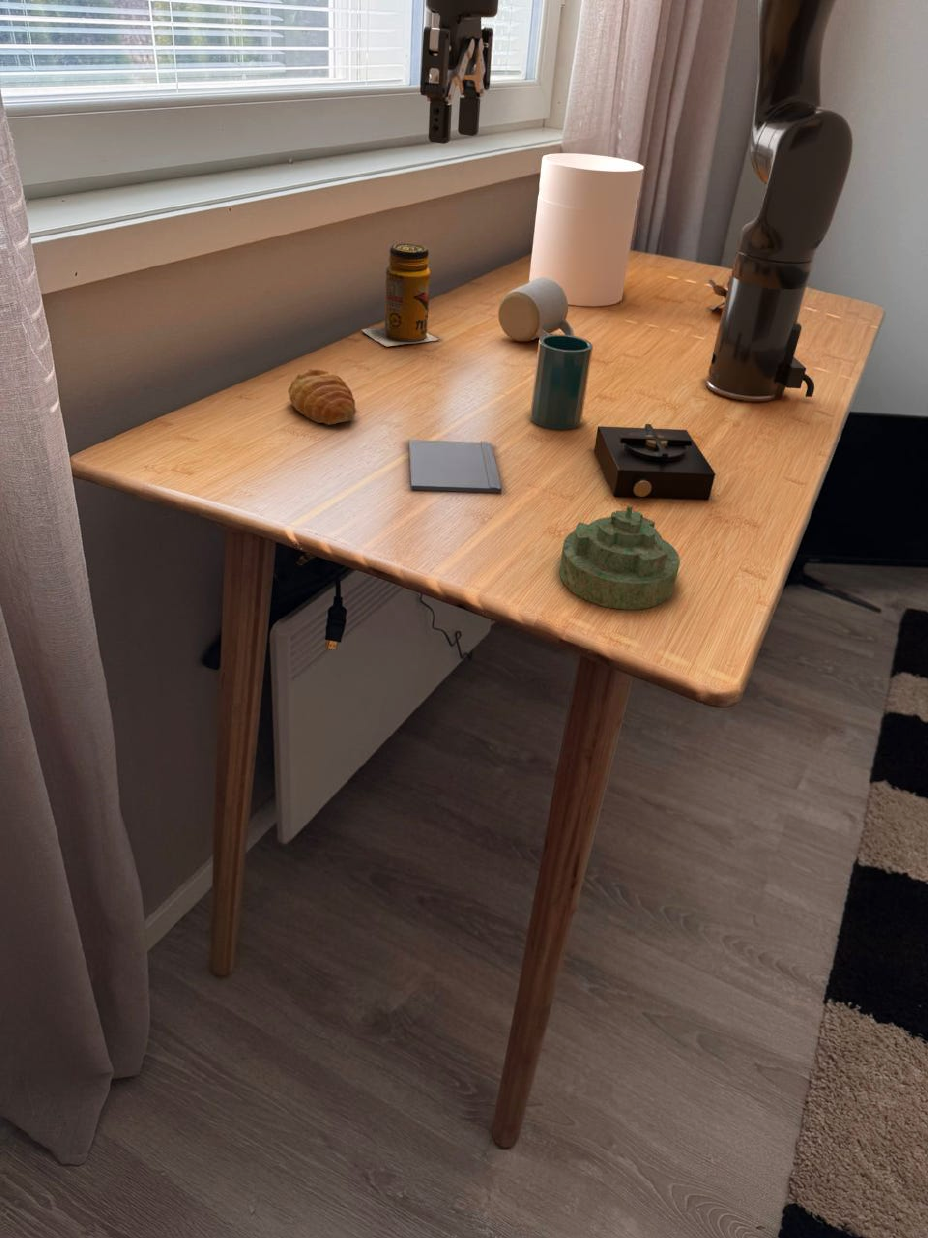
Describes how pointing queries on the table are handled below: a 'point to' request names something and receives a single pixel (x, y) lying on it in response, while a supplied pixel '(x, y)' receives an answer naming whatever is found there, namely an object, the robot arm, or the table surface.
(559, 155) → the canister
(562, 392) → the dark teal cup
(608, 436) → the stove
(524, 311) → the ceramic mug
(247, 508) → the table surface
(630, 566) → the decorative artifact
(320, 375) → the pastry
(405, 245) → the condiment
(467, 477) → the grey notebook
